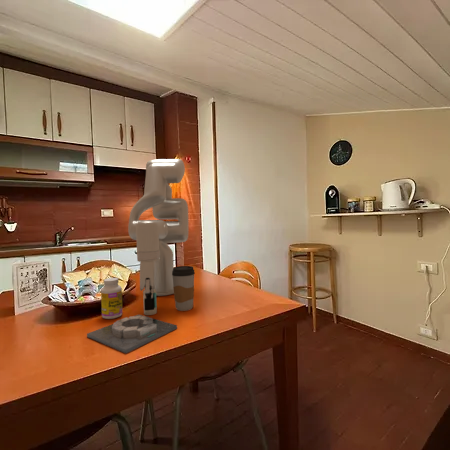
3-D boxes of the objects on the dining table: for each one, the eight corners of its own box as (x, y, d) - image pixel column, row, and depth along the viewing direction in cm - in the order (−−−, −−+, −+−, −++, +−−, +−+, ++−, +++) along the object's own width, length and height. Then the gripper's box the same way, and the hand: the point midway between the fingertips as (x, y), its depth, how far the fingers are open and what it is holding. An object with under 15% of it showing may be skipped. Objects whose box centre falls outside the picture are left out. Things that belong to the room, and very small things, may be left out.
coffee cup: (199, 305, 106) (198, 266, 106) (189, 313, 98) (188, 270, 98) (179, 303, 109) (178, 265, 108) (168, 310, 101) (167, 269, 100)
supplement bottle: (107, 321, 93) (105, 282, 92) (98, 316, 97) (97, 279, 97) (126, 315, 97) (124, 278, 97) (117, 311, 102) (115, 276, 101)
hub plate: (87, 337, 81) (86, 326, 80) (138, 317, 95) (138, 308, 95) (125, 353, 70) (125, 341, 70) (177, 328, 85) (176, 318, 85)
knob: (141, 313, 99) (140, 290, 99) (151, 310, 103) (150, 287, 102) (151, 316, 96) (150, 292, 96) (160, 312, 100) (160, 289, 99)
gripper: (140, 253, 106) (141, 301, 107) (133, 260, 90) (135, 316, 90) (160, 252, 108) (162, 299, 108) (157, 259, 91) (159, 314, 92)
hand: (150, 306), depth 99 cm, fingers closed on knob, 4 cm apart
